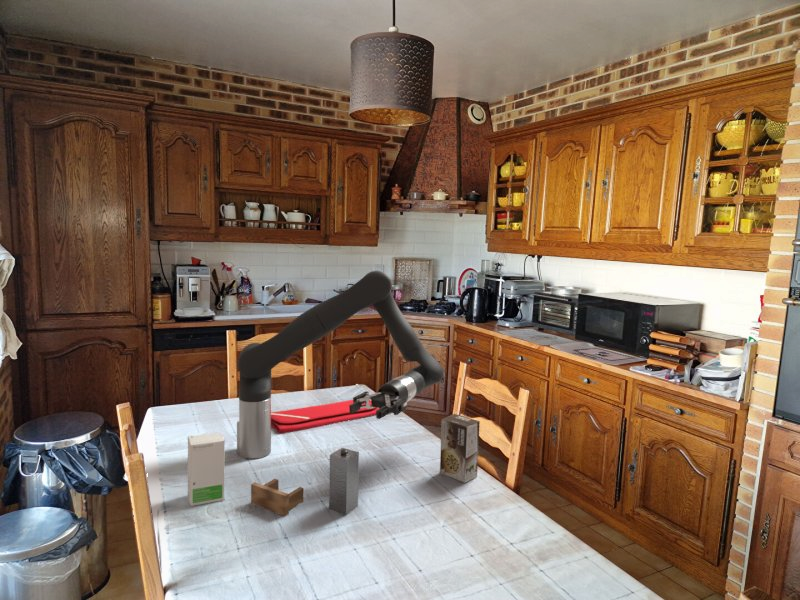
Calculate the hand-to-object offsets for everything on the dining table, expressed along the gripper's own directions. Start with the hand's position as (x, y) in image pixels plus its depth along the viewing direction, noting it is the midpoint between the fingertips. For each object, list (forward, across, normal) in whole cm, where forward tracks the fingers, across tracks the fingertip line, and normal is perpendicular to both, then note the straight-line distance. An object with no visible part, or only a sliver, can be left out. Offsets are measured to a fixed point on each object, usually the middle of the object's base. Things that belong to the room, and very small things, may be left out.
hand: (363, 412), depth 132 cm
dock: (+18, -14, +19) cm, 30 cm away
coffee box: (-22, +15, +24) cm, 36 cm away
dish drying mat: (-35, -45, +23) cm, 61 cm away
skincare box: (+27, -31, +18) cm, 45 cm away
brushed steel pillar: (+11, 0, +20) cm, 23 cm away
